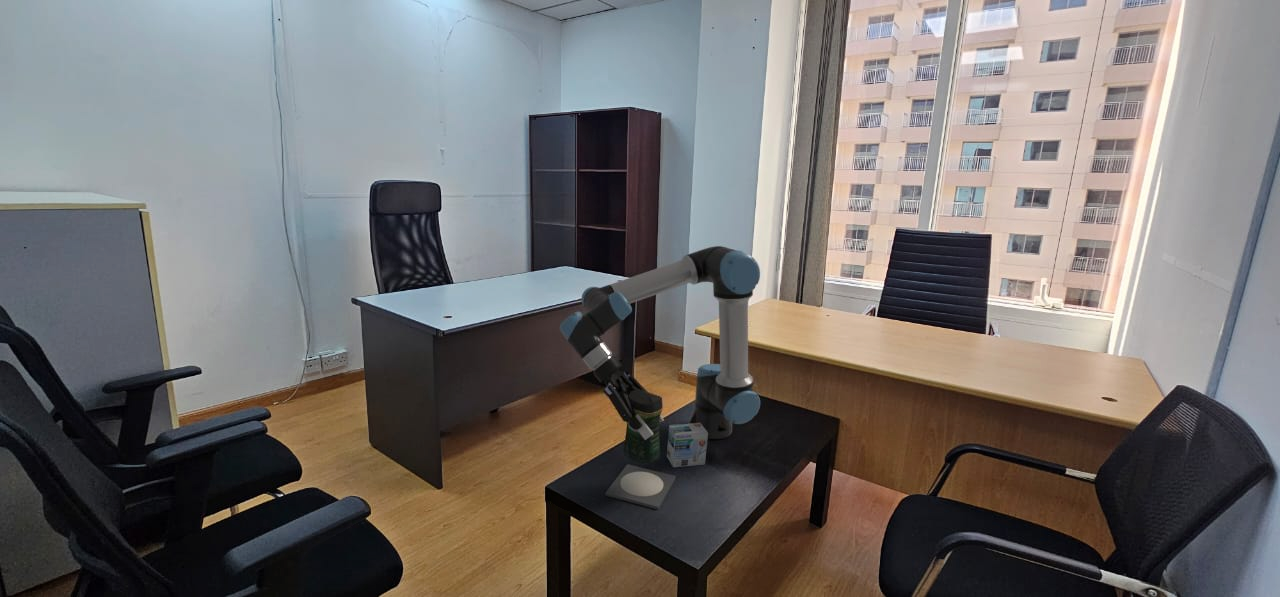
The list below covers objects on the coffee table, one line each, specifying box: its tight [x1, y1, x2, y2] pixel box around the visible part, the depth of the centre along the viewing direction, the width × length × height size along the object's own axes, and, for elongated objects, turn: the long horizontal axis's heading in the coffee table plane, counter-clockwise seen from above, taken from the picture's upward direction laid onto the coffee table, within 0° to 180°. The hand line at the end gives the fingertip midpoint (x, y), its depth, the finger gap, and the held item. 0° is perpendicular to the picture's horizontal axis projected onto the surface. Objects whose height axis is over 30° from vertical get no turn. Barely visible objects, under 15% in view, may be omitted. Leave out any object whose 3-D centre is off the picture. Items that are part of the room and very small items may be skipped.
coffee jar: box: [623, 389, 664, 465], centre depth 143 cm, size 10×8×19 cm
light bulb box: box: [666, 423, 708, 468], centre depth 161 cm, size 11×7×11 cm, turn 105°
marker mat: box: [605, 464, 677, 510], centre depth 147 cm, size 16×15×1 cm
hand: (654, 429), depth 142 cm, fingers closed on coffee jar, 8 cm apart
